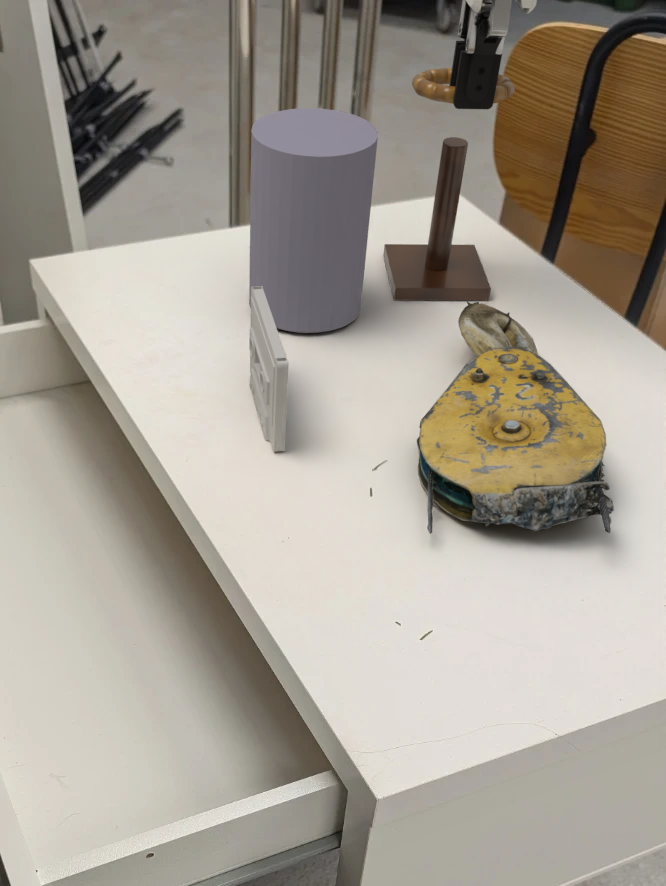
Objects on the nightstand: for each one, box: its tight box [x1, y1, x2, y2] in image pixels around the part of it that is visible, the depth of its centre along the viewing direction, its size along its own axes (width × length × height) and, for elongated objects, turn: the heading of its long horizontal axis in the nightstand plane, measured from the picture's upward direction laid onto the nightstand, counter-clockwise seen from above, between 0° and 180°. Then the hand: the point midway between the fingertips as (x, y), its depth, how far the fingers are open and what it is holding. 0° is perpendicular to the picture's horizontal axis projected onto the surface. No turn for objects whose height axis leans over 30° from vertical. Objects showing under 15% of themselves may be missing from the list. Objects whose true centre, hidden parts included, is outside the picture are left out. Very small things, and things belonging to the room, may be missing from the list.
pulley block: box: [416, 301, 615, 535], centre depth 80 cm, size 14×6×30 cm
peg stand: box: [382, 136, 492, 301], centre depth 94 cm, size 9×9×12 cm
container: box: [248, 107, 379, 334], centre depth 89 cm, size 10×10×15 cm
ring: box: [411, 67, 516, 105], centre depth 86 cm, size 8×8×1 cm
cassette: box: [248, 286, 290, 453], centre depth 80 cm, size 12×2×8 cm, turn 9°
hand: (470, 100), depth 84 cm, fingers closed on ring, 1 cm apart
